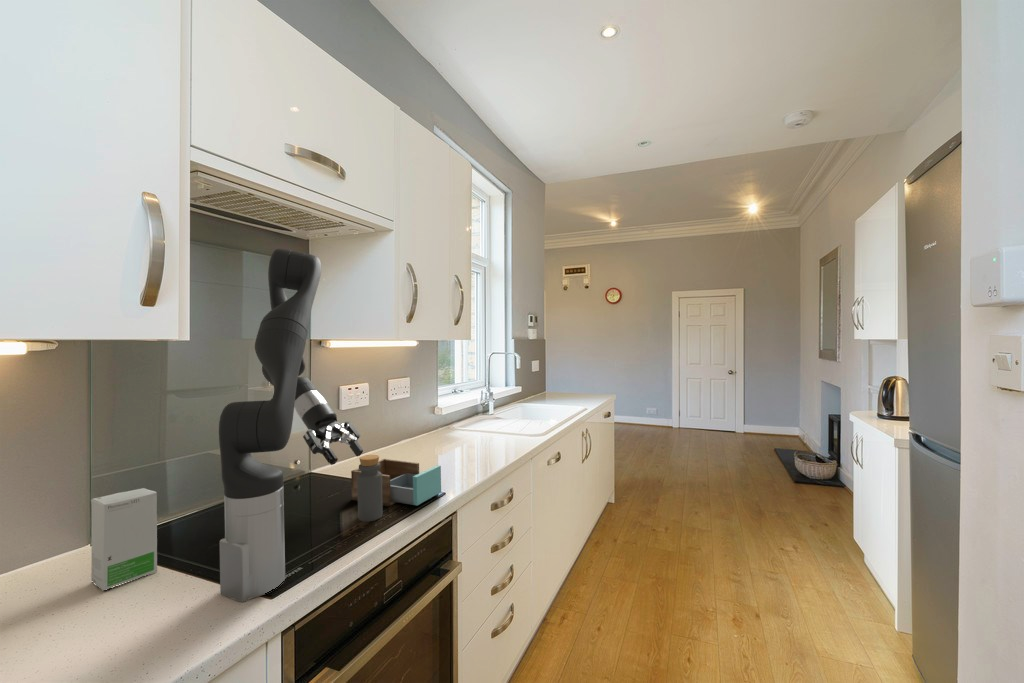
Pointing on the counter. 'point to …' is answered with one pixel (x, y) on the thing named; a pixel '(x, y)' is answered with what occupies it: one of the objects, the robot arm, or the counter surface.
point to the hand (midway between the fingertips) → (348, 458)
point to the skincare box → (123, 537)
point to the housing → (386, 477)
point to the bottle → (369, 489)
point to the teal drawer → (416, 486)
